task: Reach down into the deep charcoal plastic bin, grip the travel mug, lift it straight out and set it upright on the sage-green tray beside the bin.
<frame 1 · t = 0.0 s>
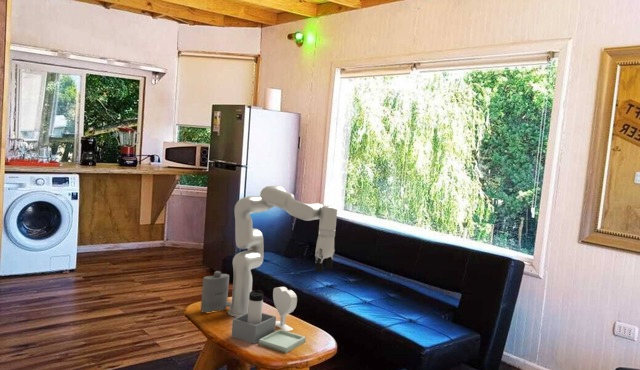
hand: (323, 269, 230), 31 cm above the table, tool pointing down, fingers open, 9 cm apart
deep bin: (253, 335, 227), on the table
travel mug: (253, 335, 227), resting in deep bin
flask: (214, 310, 255), on the table
tray: (282, 343, 220), on the table
heart sculpture: (282, 326, 242), on the table
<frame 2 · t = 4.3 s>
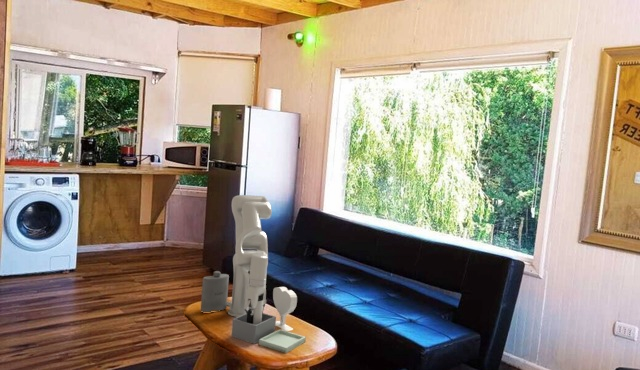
hand: (254, 320, 226), 7 cm above the table, tool pointing down, fingers closed on travel mug, 6 cm apart
travel mug: (253, 335, 227), resting in deep bin, touching gripper
everything else where it was.
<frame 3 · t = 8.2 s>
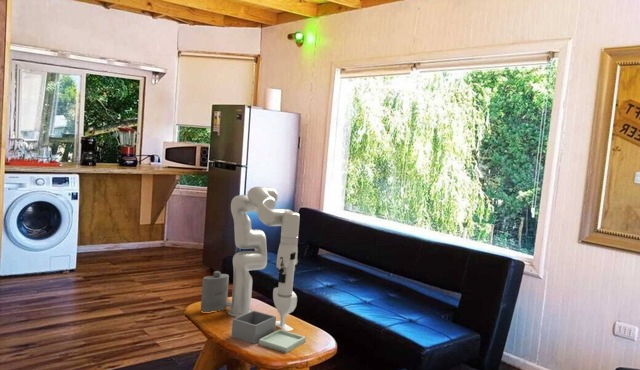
hand: (286, 280, 219), 28 cm above the table, tool pointing down, fingers closed on travel mug, 6 cm apart
travel mug: (284, 296, 219), point 21 cm above the table, touching gripper
everything else where it was.
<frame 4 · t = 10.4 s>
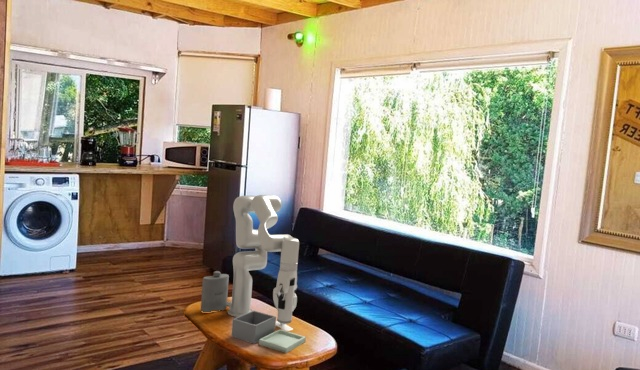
hand: (285, 306, 219), 17 cm above the table, tool pointing down, fingers closed on travel mug, 6 cm apart
travel mug: (284, 321, 220), point 10 cm above the table, touching gripper
everything else where it was.
when the fingers open (8 cm above the table, at t = 12.5 s): travel mug stays where it is, resting on tray.
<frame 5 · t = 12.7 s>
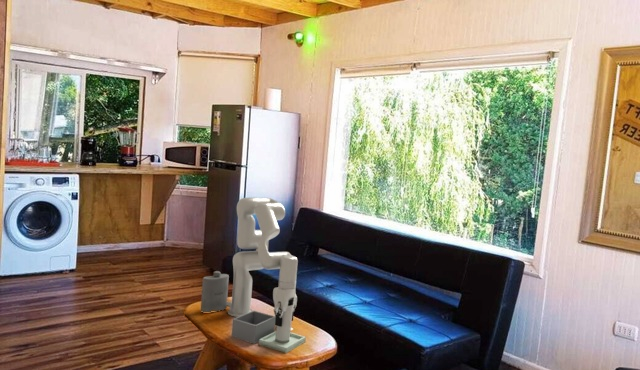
hand: (284, 322, 220), 9 cm above the table, tool pointing down, fingers open, 8 cm apart
travel mug: (282, 340, 221), point 1 cm above the table, touching tray
everything else where it was.
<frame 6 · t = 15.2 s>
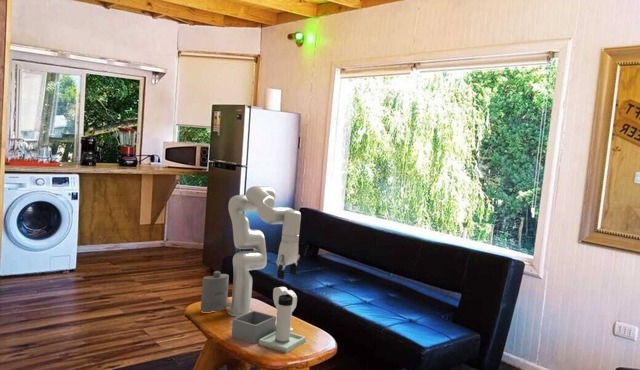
hand: (286, 276, 222), 29 cm above the table, tool pointing down, fingers open, 9 cm apart
nothing on the table moved.
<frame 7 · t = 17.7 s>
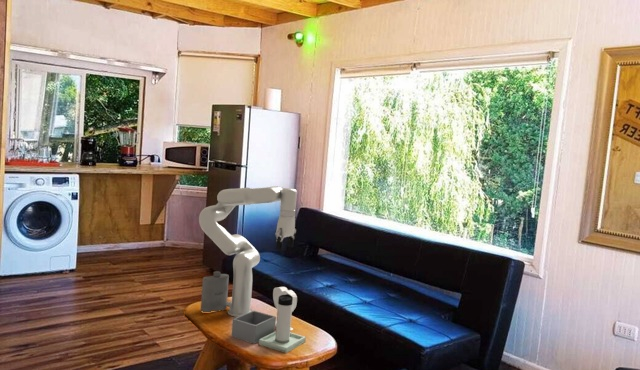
hand: (284, 248, 246), 36 cm above the table, tool pointing down, fingers open, 9 cm apart
nothing on the table moved.
at the end: travel mug inside the target area on the tray (0.4 cm from its centre), point 0.8 cm above the tray's base; travel mug tilted 0°; the gripper is holding nothing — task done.
